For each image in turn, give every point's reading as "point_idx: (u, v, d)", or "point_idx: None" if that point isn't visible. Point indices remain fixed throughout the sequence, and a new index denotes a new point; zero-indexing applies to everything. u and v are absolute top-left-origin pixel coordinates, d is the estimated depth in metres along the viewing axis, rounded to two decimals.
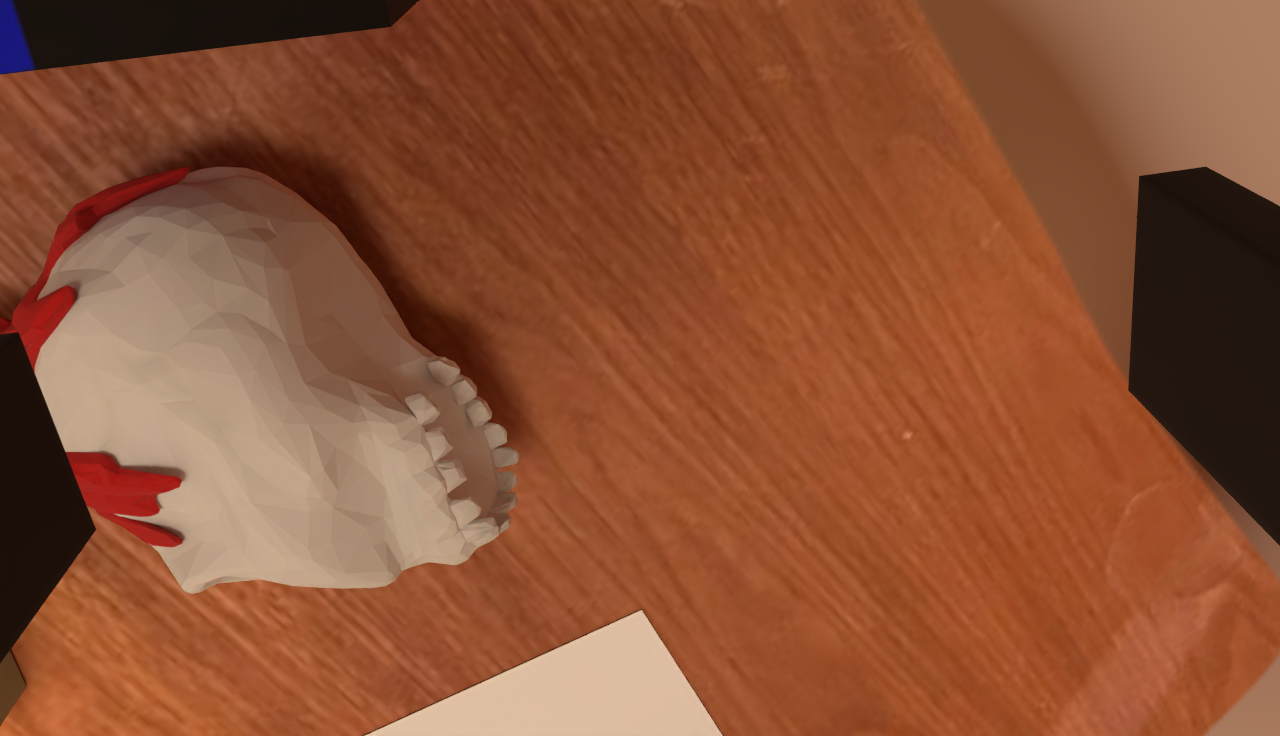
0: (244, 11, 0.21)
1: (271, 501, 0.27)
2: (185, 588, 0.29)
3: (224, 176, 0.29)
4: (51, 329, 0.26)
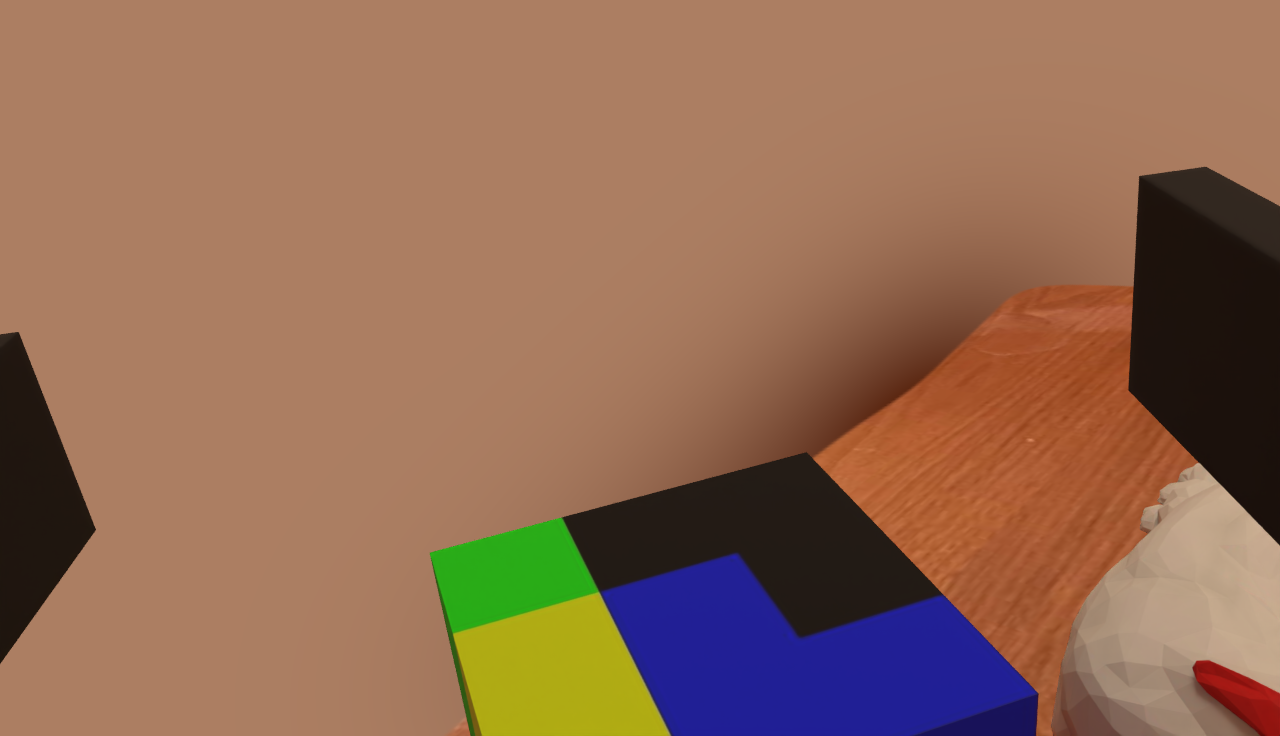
0: (830, 506, 0.28)
1: None
2: None
3: None
4: (1255, 681, 0.25)
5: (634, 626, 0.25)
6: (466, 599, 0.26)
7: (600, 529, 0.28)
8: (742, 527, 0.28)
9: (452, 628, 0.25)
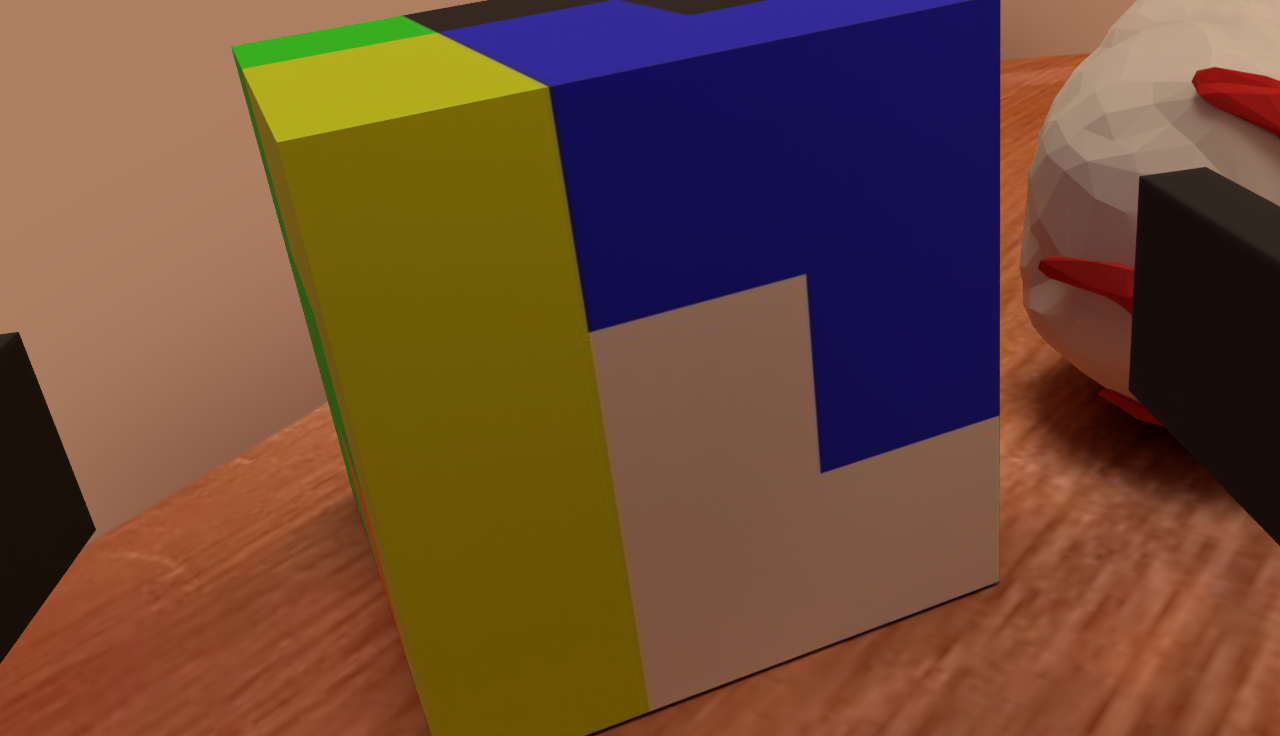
0: None
1: None
2: None
3: (1039, 286, 0.23)
4: (1272, 80, 0.19)
5: (476, 38, 0.19)
6: (267, 55, 0.20)
7: (448, 13, 0.22)
8: None
9: (242, 67, 0.19)
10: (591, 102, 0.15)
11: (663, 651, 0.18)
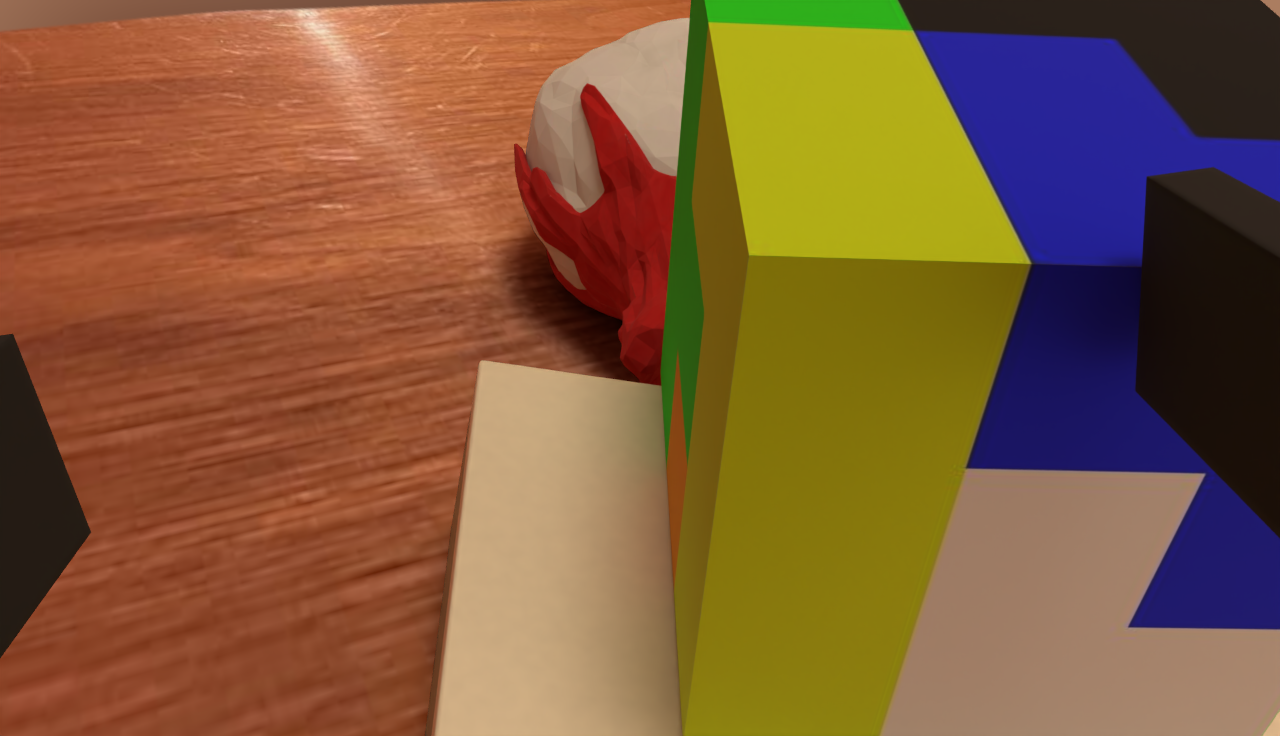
0: (1258, 27, 0.20)
1: None
2: None
3: None
4: (612, 109, 0.33)
5: (956, 72, 0.18)
6: None
7: None
8: (1126, 18, 0.20)
9: (709, 17, 0.19)
10: (1068, 285, 0.14)
11: (910, 710, 0.19)
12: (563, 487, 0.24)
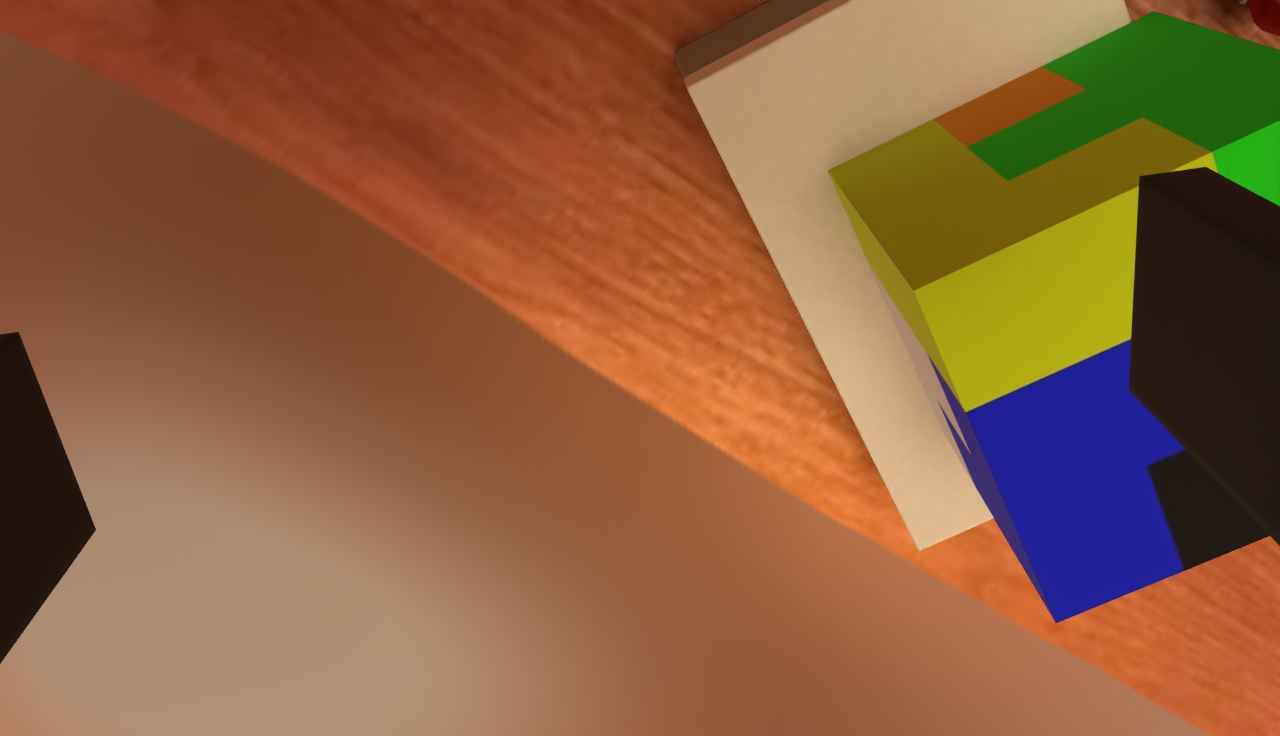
0: None
1: None
2: None
3: None
4: None
5: None
6: (1267, 149, 0.24)
7: None
8: None
9: (1221, 148, 0.24)
10: (969, 424, 0.27)
11: (882, 287, 0.35)
12: (986, 10, 0.32)
